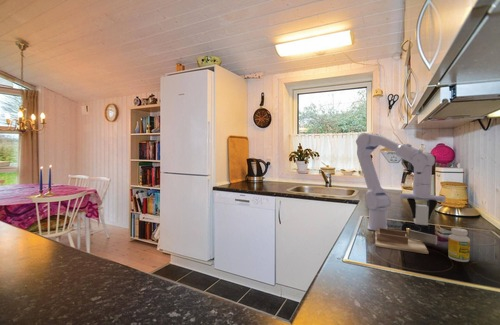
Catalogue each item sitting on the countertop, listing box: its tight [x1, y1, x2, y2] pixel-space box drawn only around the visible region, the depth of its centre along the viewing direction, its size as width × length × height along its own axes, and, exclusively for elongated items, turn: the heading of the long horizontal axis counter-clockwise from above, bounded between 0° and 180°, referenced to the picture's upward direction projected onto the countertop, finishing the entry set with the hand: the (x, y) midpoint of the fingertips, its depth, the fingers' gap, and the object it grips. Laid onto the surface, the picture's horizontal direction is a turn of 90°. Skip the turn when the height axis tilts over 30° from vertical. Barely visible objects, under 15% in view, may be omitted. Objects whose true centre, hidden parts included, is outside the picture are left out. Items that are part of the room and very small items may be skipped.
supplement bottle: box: [447, 227, 471, 263], centre depth 81 cm, size 5×5×10 cm
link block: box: [413, 203, 429, 226], centre depth 97 cm, size 4×4×7 cm
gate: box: [405, 227, 438, 246], centre depth 95 cm, size 10×1×3 cm, turn 34°
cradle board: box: [374, 228, 429, 255], centre depth 96 cm, size 18×16×3 cm
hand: (420, 218), depth 98 cm, fingers closed on link block, 4 cm apart
